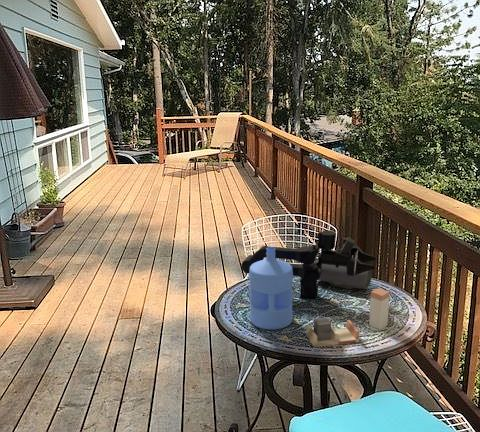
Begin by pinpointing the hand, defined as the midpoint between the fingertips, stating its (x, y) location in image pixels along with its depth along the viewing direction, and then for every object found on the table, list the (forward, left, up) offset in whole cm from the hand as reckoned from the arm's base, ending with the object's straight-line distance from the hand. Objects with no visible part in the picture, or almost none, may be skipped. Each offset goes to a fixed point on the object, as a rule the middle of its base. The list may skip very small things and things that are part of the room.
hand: (375, 262), depth 188 cm
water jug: (-36, -22, -17) cm, 46 cm away
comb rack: (-14, -31, -17) cm, 38 cm away
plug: (+2, -18, -17) cm, 25 cm away
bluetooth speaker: (-13, +14, -17) cm, 25 cm away
